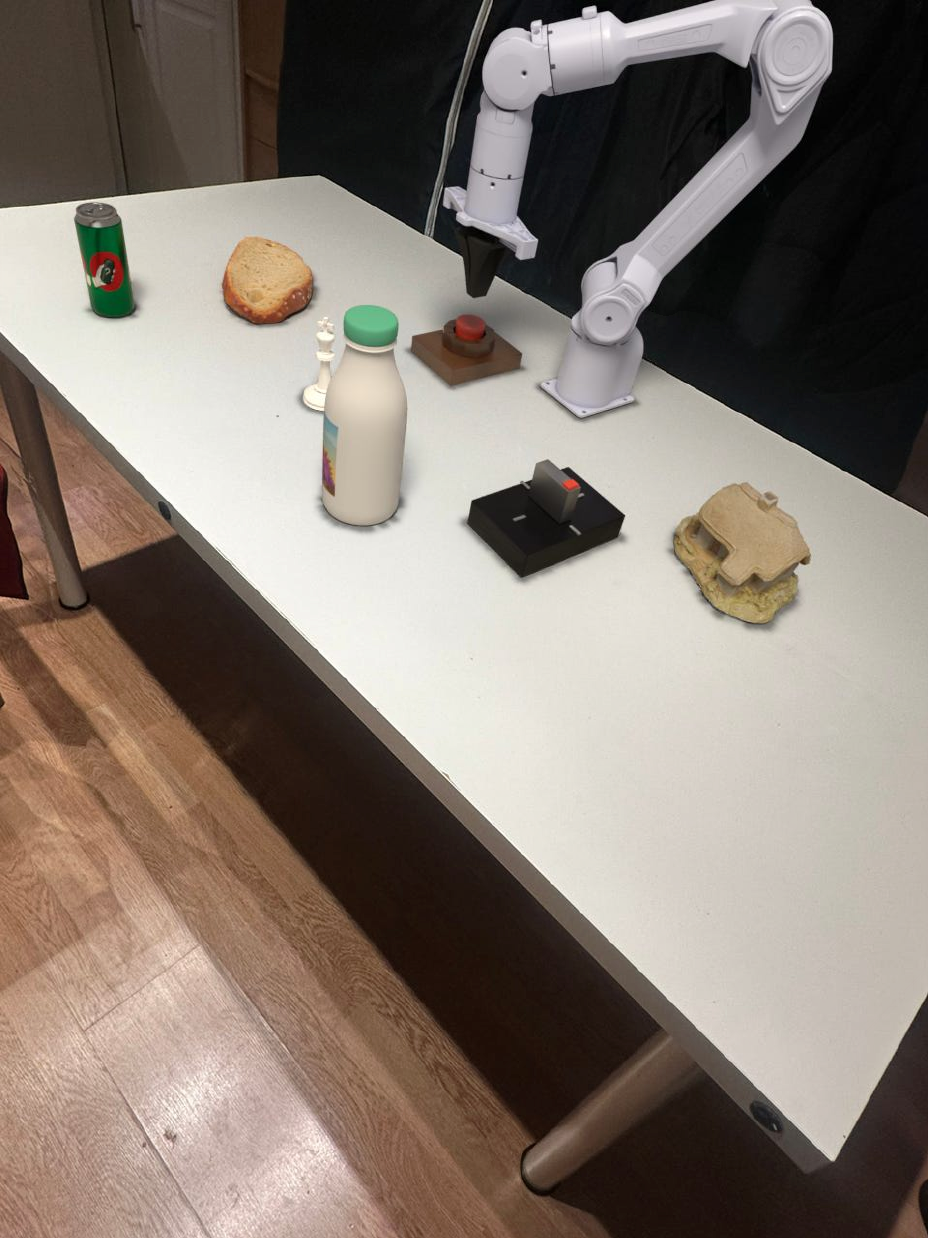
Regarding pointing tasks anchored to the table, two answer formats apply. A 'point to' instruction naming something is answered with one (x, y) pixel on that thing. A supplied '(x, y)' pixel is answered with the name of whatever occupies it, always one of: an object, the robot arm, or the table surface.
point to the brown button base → (465, 354)
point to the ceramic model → (743, 552)
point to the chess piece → (321, 367)
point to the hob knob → (554, 491)
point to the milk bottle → (364, 421)
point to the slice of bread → (266, 281)
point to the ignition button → (470, 327)
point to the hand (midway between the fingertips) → (476, 294)
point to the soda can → (104, 259)
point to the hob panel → (542, 526)
